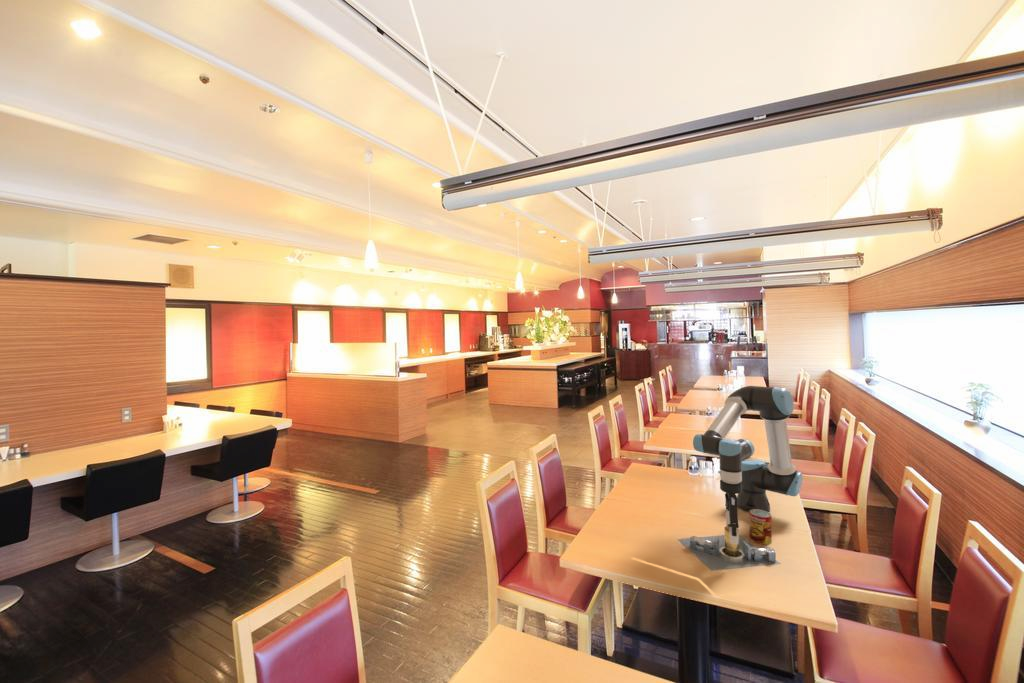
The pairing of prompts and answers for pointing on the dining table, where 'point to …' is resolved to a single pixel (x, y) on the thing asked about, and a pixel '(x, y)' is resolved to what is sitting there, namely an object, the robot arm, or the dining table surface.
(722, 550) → the socket
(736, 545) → the cylinder
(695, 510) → the dining table surface
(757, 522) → the canned food
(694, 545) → the shaft
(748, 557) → the shaft
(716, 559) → the base board
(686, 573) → the dining table surface
